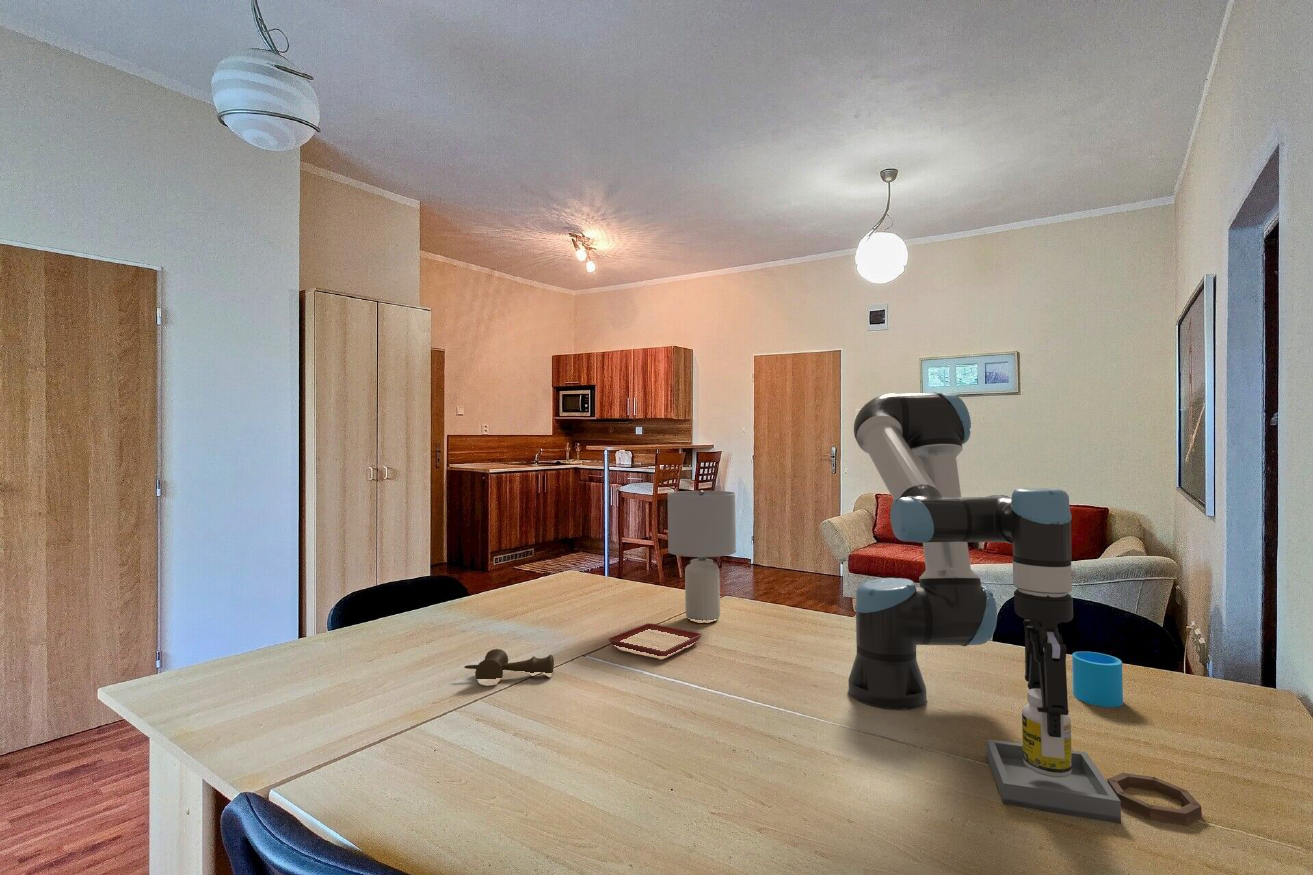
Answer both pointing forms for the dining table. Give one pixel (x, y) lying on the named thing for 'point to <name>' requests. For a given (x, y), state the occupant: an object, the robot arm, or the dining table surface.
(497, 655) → the kendama
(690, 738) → the dining table surface
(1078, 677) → the mug
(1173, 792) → the collar socket
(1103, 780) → the tray
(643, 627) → the plant saucer
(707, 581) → the lamp
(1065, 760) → the pill bottle
